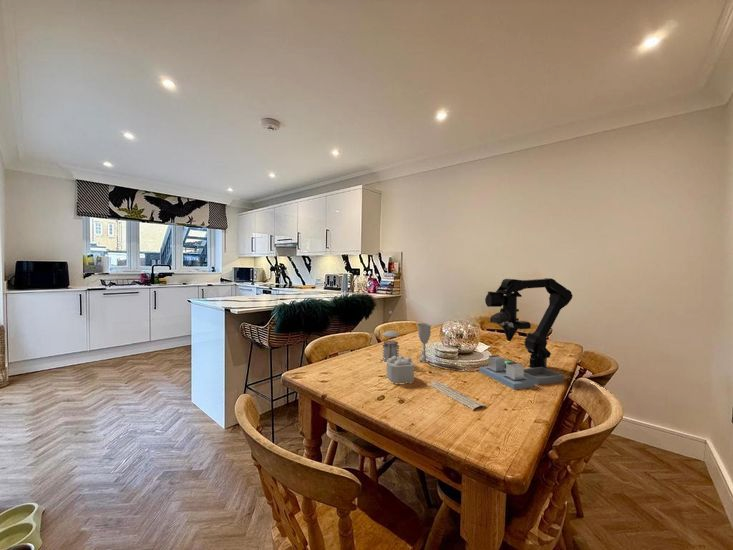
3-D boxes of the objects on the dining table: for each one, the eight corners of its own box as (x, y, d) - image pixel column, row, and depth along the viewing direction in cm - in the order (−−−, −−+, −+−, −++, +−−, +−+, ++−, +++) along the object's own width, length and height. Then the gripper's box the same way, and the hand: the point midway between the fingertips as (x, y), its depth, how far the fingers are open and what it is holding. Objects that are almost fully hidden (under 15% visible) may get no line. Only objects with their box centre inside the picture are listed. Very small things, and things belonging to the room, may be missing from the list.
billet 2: (514, 381, 123) (515, 361, 123) (523, 385, 119) (523, 365, 118) (505, 383, 122) (506, 362, 121) (514, 387, 117) (514, 366, 117)
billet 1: (497, 373, 132) (497, 354, 132) (504, 376, 128) (504, 357, 128) (488, 374, 131) (488, 355, 131) (495, 378, 127) (496, 358, 127)
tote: (541, 373, 132) (541, 366, 132) (564, 382, 122) (564, 375, 122) (516, 376, 128) (516, 369, 128) (537, 386, 118) (537, 378, 118)
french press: (400, 359, 152) (401, 309, 151) (401, 367, 140) (401, 313, 139) (381, 358, 153) (381, 309, 152) (379, 366, 141) (380, 312, 140)
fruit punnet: (391, 385, 119) (391, 363, 119) (383, 373, 132) (383, 353, 131) (416, 383, 121) (416, 361, 121) (406, 372, 134) (406, 352, 133)
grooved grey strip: (427, 387, 119) (427, 382, 119) (441, 384, 122) (441, 379, 122) (472, 413, 98) (473, 407, 98) (488, 408, 101) (488, 403, 101)
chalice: (427, 364, 144) (427, 326, 144) (414, 361, 149) (414, 324, 148) (433, 360, 150) (434, 324, 150) (421, 357, 154) (421, 322, 154)
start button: (508, 366, 140) (509, 359, 140) (515, 369, 136) (515, 362, 136) (501, 367, 139) (501, 360, 139) (508, 370, 135) (508, 363, 135)
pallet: (497, 370, 136) (497, 365, 136) (534, 387, 117) (534, 381, 117) (478, 372, 133) (479, 367, 133) (513, 390, 114) (513, 384, 114)
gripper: (481, 304, 143) (480, 337, 144) (510, 310, 126) (510, 347, 126) (500, 303, 147) (499, 336, 147) (532, 309, 129) (531, 345, 129)
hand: (509, 340), depth 137 cm, fingers closed
